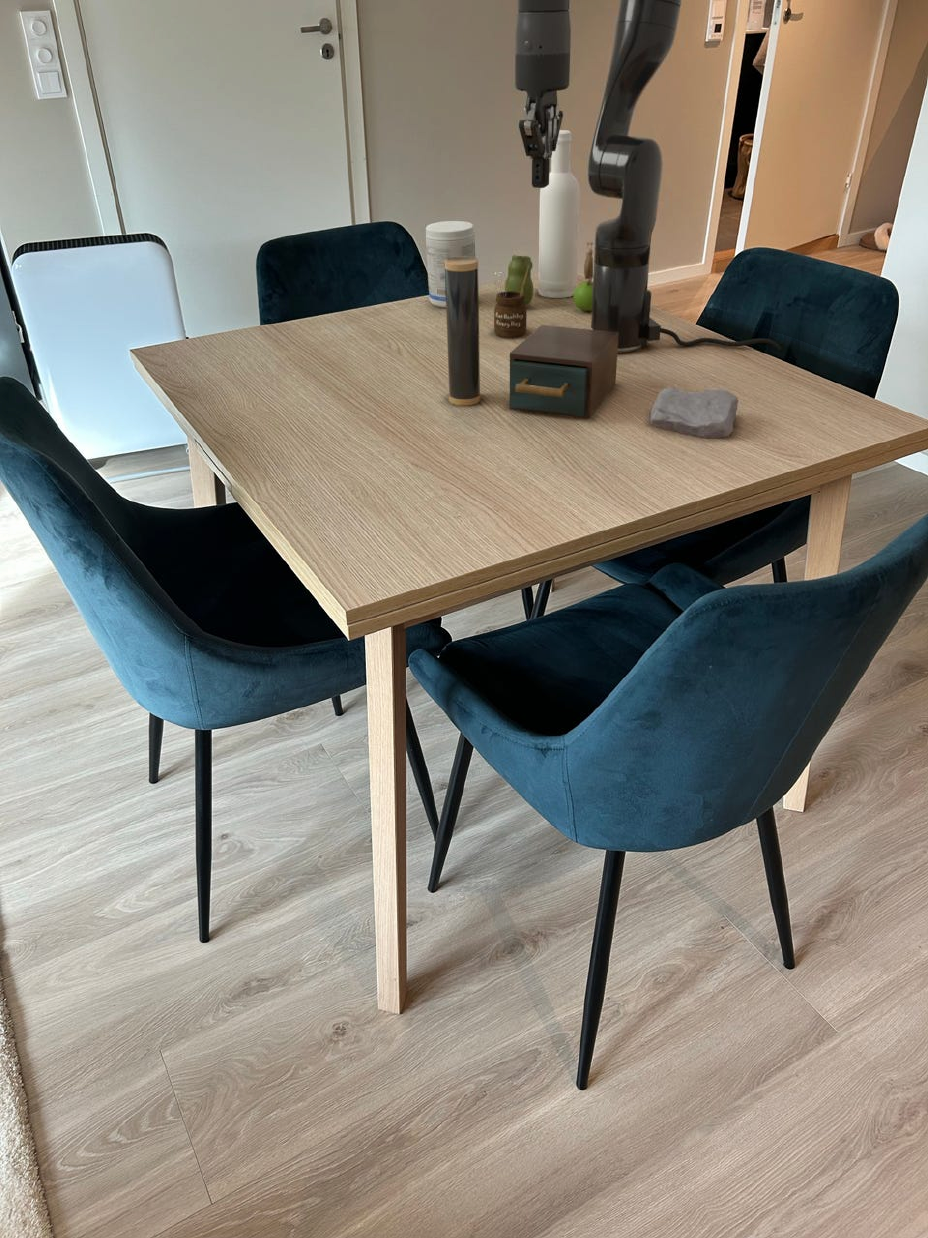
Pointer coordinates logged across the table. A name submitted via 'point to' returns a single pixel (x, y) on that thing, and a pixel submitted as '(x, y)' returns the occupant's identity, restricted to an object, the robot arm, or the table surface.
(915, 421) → the table surface
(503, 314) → the utensil holder
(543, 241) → the bottle
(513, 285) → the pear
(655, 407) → the stone block
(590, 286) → the snail figurine
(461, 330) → the black cylinder
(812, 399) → the table surface
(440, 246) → the supplement tub
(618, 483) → the table surface
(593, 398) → the cabinet
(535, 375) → the drawer
